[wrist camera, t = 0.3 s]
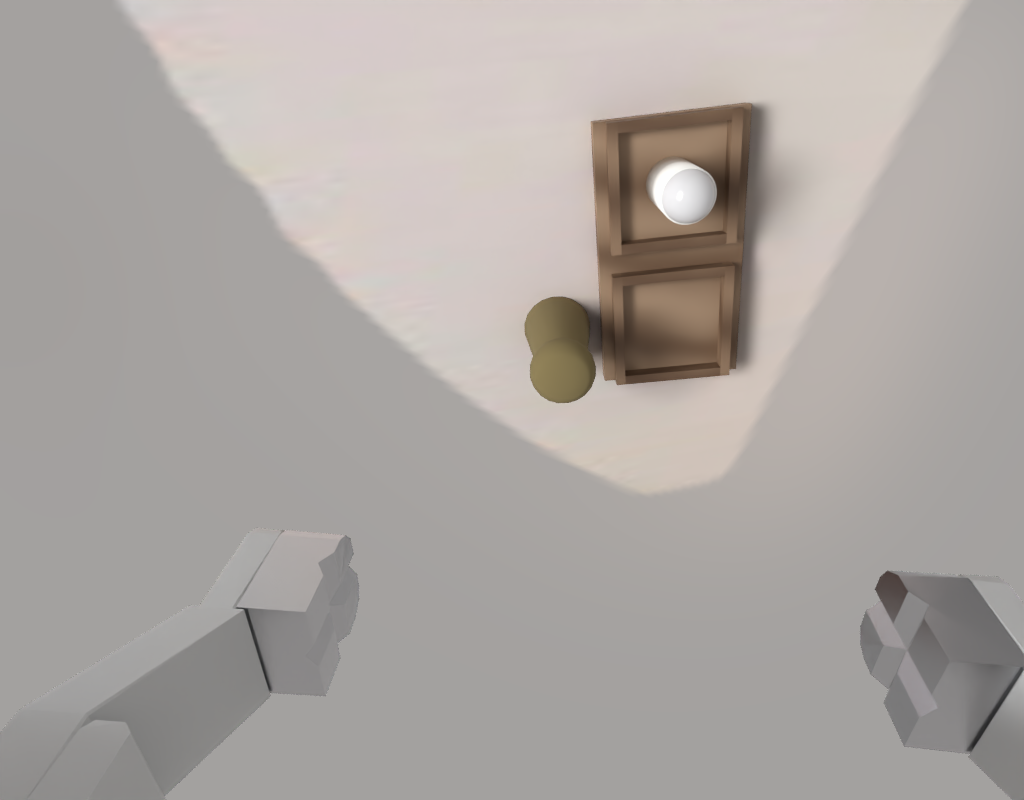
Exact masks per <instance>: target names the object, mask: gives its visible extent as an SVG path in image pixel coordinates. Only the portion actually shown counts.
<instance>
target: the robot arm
mask: <svg viewBox="0 0 1024 800" xmlns="http://www.w3.org/2000/svg"><path fill="white" fill-rule="evenodd" d="M352 556H353V548H352V544H351V539H350V538H349V537H347V536H346V535H338V534H327V533H315V532H304V531H294V530H286V531H285V530H274V529H264V528H255V529H254V530H252V531H251V532H249V533H248V534H247V535H246V536H245V538H244V539H243V541H242V542H241V544H240V545H239V547H238V548H237V550H236V551H235V553H234V554H233V556H232V557H231V559H230V560H229V562H228V563H227V565H226V566H225V568H224V569H223V571H222V572H221V574H220V575H219V577H218V578H217V580H216V581H215V583H214V584H213V586H212V587H211V589H210V590H209V591H208V593H207V595H206V596H205V598H204V599H203V601H202V602H201V603H200V605H199V606H193V605H189V606H188V607H186V608H184V609H183V610H181V611H179V612H178V613H176V614H175V615H173V616H171V617H169V618H168V619H166V620H165V621H163V622H161V623H160V624H158V625H156V626H155V627H153V628H152V629H150V630H149V631H147V632H145V633H143V634H142V635H140V636H138V637H137V638H135V639H133V640H132V641H130V642H129V643H127V644H125V645H124V646H122V647H120V648H119V649H117V650H115V651H114V652H112V653H111V654H109V655H107V656H106V657H104V658H102V659H101V660H99V661H97V662H96V663H94V664H93V665H91V666H89V667H88V668H86V669H85V670H83V671H81V672H79V673H78V674H76V675H75V676H73V677H71V678H70V679H68V680H66V681H65V682H63V683H62V684H60V685H58V686H57V687H55V688H53V689H52V690H50V691H48V692H47V693H45V694H43V695H42V696H40V697H39V698H37V699H35V700H34V701H32V702H30V703H29V704H27V705H25V706H24V707H22V708H21V709H19V711H18V712H17V713H16V714H15V715H14V716H13V718H12V719H11V720H10V721H9V722H8V724H7V725H6V726H5V727H4V728H3V729H2V731H1V732H0V800H166V799H165V797H164V796H165V795H166V794H168V793H169V792H170V791H171V790H172V789H173V788H174V787H175V786H176V785H177V784H178V783H179V782H180V781H181V780H182V779H183V778H185V777H186V775H188V774H189V773H190V772H191V771H192V770H193V769H194V768H195V767H196V766H197V765H198V764H199V763H200V762H201V761H203V759H205V758H206V757H207V756H208V755H209V754H210V753H211V752H212V751H213V750H214V749H215V748H216V747H217V746H218V745H220V744H221V743H222V742H223V741H224V740H225V739H226V738H227V737H228V736H229V735H230V734H231V733H232V732H233V731H234V730H235V729H237V728H238V727H239V726H240V725H241V724H242V723H243V722H244V721H245V720H246V719H247V718H248V717H249V716H250V715H251V714H252V713H254V712H255V711H256V710H257V709H258V708H259V707H260V706H261V705H262V704H263V703H264V702H265V701H266V700H267V699H268V698H269V697H270V693H278V694H296V695H314V696H326V694H327V691H328V689H329V686H330V683H331V681H332V678H333V676H334V673H335V671H336V668H337V665H338V663H339V660H340V653H339V648H338V642H340V641H341V640H342V639H344V638H345V637H346V636H347V635H349V634H350V632H351V629H352V626H353V623H354V620H355V617H356V612H357V607H358V601H359V583H358V577H357V573H355V572H354V571H353V570H352V569H351V568H350V567H349V563H350V561H351V559H352ZM875 590H876V592H877V594H878V596H879V598H880V600H881V601H879V602H878V603H876V604H875V605H873V606H872V607H870V608H869V609H867V610H866V612H865V615H864V618H863V621H862V624H861V626H860V627H861V628H860V631H861V632H860V635H861V636H860V638H861V640H860V642H861V648H862V653H863V657H864V660H865V662H866V664H867V667H868V669H869V671H870V674H871V675H872V676H873V677H874V678H876V679H877V680H878V681H879V682H880V683H881V684H883V685H884V686H885V687H886V688H887V689H888V692H887V694H886V697H885V700H884V704H885V707H886V709H887V711H888V713H889V715H890V717H891V719H892V722H893V724H894V726H895V728H896V730H897V732H898V734H899V736H900V739H901V741H902V743H903V745H904V746H905V747H913V748H922V749H930V750H939V751H948V752H957V753H966V754H970V755H969V758H970V759H971V760H972V761H973V762H974V763H975V764H976V765H977V766H978V767H979V768H980V769H981V770H982V771H983V772H984V773H985V774H986V775H987V776H988V777H989V778H990V779H991V780H992V781H993V782H994V783H996V785H997V786H998V787H1000V788H1001V789H1002V790H1003V791H1004V792H1005V793H1006V794H1007V795H1008V796H1009V797H1010V798H1011V799H1012V800H1024V603H1023V601H1022V600H1021V599H1020V598H1019V597H1018V595H1017V594H1016V593H1015V591H1014V590H1013V589H1012V588H1011V586H1010V585H1009V584H1008V583H1007V582H1005V581H1004V580H1002V579H1001V578H999V577H997V576H979V575H954V574H937V573H920V572H903V571H886V572H885V573H884V574H883V575H882V576H881V577H880V578H879V581H878V583H877V585H876V588H875Z"/></svg>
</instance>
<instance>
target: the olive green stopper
mask: <svg viewBox="0 0 1024 800" xmlns="http://www.w3.org/2000/svg"><path fill="white" fill-rule="evenodd" d="M589 333H590V321H589V318H588V315H587V313H586V311H585V310H584V309H583V307H582V306H581V305H580V304H578V303H577V302H575V301H574V300H572V299H569V298H565V297H551V298H548V299H545V300H542V301H541V302H539V303H538V304H536V305H535V306H534V307H533V308H532V309H531V311H530V312H529V314H528V315H527V318H526V322H525V335H526V338H527V341H528V343H529V346H530V349H531V352H532V354H533V358H532V361H531V364H530V378H531V381H532V383H533V386H534V388H535V389H536V390H537V392H538V393H539V394H540V395H541V396H542V397H544V398H546V399H547V400H549V401H552V402H556V403H569V402H572V401H576V400H578V399H579V398H581V397H583V396H584V395H585V394H586V393H587V392H588V391H589V390H590V388H591V387H592V384H593V382H594V379H595V374H596V366H595V363H594V360H593V357H592V354H591V353H590V352H589V351H588V343H589Z"/></svg>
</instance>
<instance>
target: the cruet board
mask: <svg viewBox="0 0 1024 800" xmlns="http://www.w3.org/2000/svg"><path fill="white" fill-rule="evenodd" d="M751 108H752V104H750V103H740V104H732V105H723V106H715V107H707V108H698V109H690V110H682V111H674V112H665V113H657V114H649V115H640V116H632V117H624V118H615V119H607V120H599V121H591V135H592V155H593V176H594V196H595V216H596V237H597V257H598V277H599V298H600V318H601V338H602V359H603V375H604V379H605V381H607V380H616V384H617V385H623V384H634V383H644V382H655V381H666V380H677V379H688V378H699V377H710V376H721V375H729V369H736V358H737V341H738V324H739V308H740V291H741V274H742V258H743V241H744V224H745V208H746V191H747V175H748V158H749V141H750V125H751ZM671 156H676V157H681V158H684V159H686V160H687V161H689V162H691V163H693V164H694V165H696V166H698V167H700V168H702V169H703V170H705V171H707V172H708V173H709V174H710V175H711V176H712V178H713V179H714V181H715V184H716V188H717V197H716V201H715V204H714V206H713V208H712V210H711V211H710V212H709V214H708V215H707V216H706V217H705V218H703V219H702V220H700V221H699V222H696V223H694V224H689V225H681V224H677V223H674V222H672V221H671V220H669V219H668V218H667V217H666V216H665V215H664V214H663V213H662V212H661V210H660V209H659V208H658V207H657V206H656V205H655V204H654V203H653V202H652V201H651V200H650V198H649V197H648V194H647V191H646V180H647V176H648V174H649V172H650V170H651V169H652V167H653V166H654V165H655V164H656V163H657V162H659V161H660V160H662V159H664V158H667V157H671Z"/></svg>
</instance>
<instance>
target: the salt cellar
mask: <svg viewBox="0 0 1024 800" xmlns="http://www.w3.org/2000/svg"><path fill="white" fill-rule="evenodd" d="M646 191H647V194H648V197H649V198H650V200H651V201H652V202H653V203H654V204H655V205H656V206H657V207H658V208H659V209H660V210H661V212H662V213H663V214H664V215H665V216H666V217H667V218H668V219H669V220H671V221H672V222H674V223H677V224H681V225H689V224H694V223H696V222H699V221H700V220H702V219H703V218H705V217H706V216H707V215H708V214H709V212H710V211H711V210H712V208H713V206H714V204H715V201H716V197H717V188H716V184H715V181H714V179H713V178H712V176H711V175H710V174H709V173H708V172H707V171H705V170H703V169H702V168H700V167H698V166H696V165H694V164H693V163H691V162H689V161H687V160H686V159H684V158H681V157H676V156H671V157H667V158H664V159H662V160H660V161H659V162H657V163H656V164H655V165H654V166H653V167H652V169H651V170H650V172H649V174H648V176H647V180H646Z"/></svg>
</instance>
